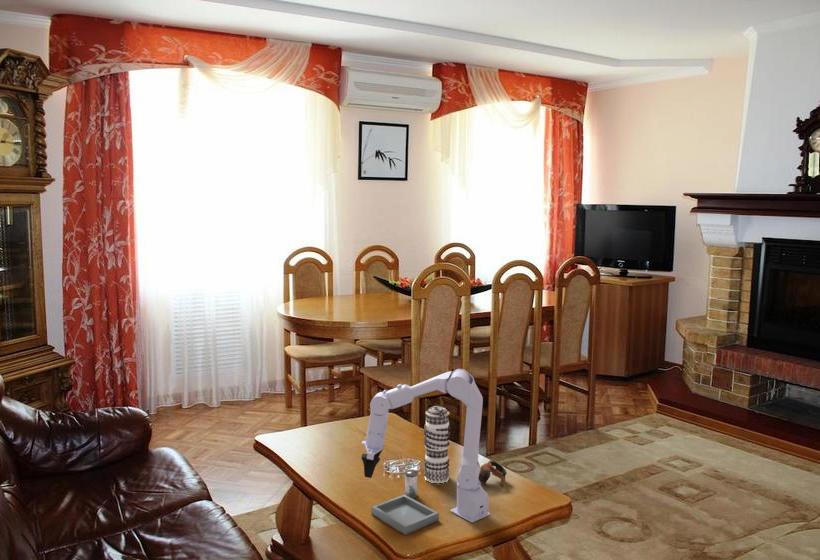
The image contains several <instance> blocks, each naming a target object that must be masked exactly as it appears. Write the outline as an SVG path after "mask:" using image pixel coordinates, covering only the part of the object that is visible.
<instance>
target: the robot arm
mask: <svg viewBox="0 0 820 560" xmlns="http://www.w3.org/2000/svg"><path fill="white" fill-rule="evenodd" d="M435 391H439V392H441V393H443V394H446V393H447V392H448V394H449V395H450V396H451V397H453V398H455V399H457V400H459V401H461V402H462V403H463V404H464V405H465V407H466V412H465V414H466V415H465V426H464V436H463V438H464V439H463V447H462V448H463V451H462V459H461V463H460V466H459V467H460V468H459V471H458V474H457V476H456V507H453V508H452V509H451V508H450V512H451V513H452V514H455V515H456V516H458V517H461V518H462V519H464V520H466V521H468V522H470V523H475V522H477V521H479V520H481V519H483V518H485V517H488V516H490V515H491V514H490V512H489V494H488V492H487V491H485V490H484V488H483V487H482V485H481V482H480V481H479V479H478V477H479V473H480V470H481V468H480V467H481V465H480V462H479V451H480V450H479V448H480V437H481V427H482V426H481V425H482V415H483V414H482V413H483V405H484V404H483V402H484V400H483V399H484V397H483V395H482V393H481V392H480V391H481V390H480V389H479V387H478V386H477V384H476V382H475V378H474V376H473V375H471V374H470V373H469V372H468V371H467V370H466V369H463V368H457V369H454V370H453V371H452V370H450V371H446V372H444V373H441V374H439V375H436V376H434V377H431V378H428V379H427V380H426V379H425V380H423V381H421V382H418V383H416V384H415V385H412V386H410V385H409V384H406V383H405V384H402V383H399V384H397V386H396V387H394V388H392V389H389V390H387V389H384V390H383V391H379V392H378V393H376V394H375V396H373V398H372V399H370V403H369V408H370V415H369V418H368V424H367V430H366V431H367V432H366V435H365V436H366V437H365V440H362V441H361V442H360V443H361V446H364V448H365V450H366V453H362V455H361V461H362V464H363V470H364V471H363V472H364V473H363V474H364V477H365V478H368V479H372V477H373V475H374V472H375V470H376V469H375V468H376V467H377V465H378V464H379V462H380V460H381V457H380V456H381V453H382V452H383V450H384V449H385V437H386V434H387V425H388V421H389V411H390V410H393V409H397V408H400V407H402V406H405V405H407V404H411V403H412V402H413V400H414V398H415V397H419V396H422V395H425V394H428V393H432V392H435Z"/></svg>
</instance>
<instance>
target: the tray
mask: <svg viewBox="0 0 820 560" xmlns="http://www.w3.org/2000/svg"><path fill="white" fill-rule="evenodd" d="M371 515H372V516H374V517H375V518H377V519H378V520H380V521H381V522H384V523H385V524H387V525H388V526H390V527H392V528H394V530H396V531H398V532H400V533H402V534H403V535H405V536H407V535H409V534H411V533H413V532H416V531H418V530H420V529H423V528H425V527H428V526H430V525H432V524H435V523H437V522H439V521H440V512H438V511H436V510H434V509H432V508H430V507H429V506H427V505H425V504H423V503H421V502H419V501H417V500H415V498H410V497H408V496H406V495H405V493H404V494H401V495H399V496H396V497H394V498H391V499H389V500H386V501H383V502H381V503H378V504H375V505H373V506H371Z"/></svg>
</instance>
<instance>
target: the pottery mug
mask: <svg viewBox="0 0 820 560" xmlns="http://www.w3.org/2000/svg"><path fill="white" fill-rule="evenodd" d="M480 468H481V470H480V473H479V477H478V479H479V481H480V482H481V486H486V485H487V482H488V480H490V478H491V475H492V476H495V477H496V478H499V479H500V480H501V481H500V483H499V486H500V487H503V486H504V484H505V482H506V475H507V474H508V472H507V470H506V469H505V468H504V467H503V466H502V465H501V464H499V463H498V462H496V461H494V460H488V462H487V463H484V464H482V465H480Z"/></svg>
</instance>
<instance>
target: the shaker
mask: <svg viewBox="0 0 820 560" xmlns="http://www.w3.org/2000/svg"><path fill="white" fill-rule="evenodd" d="M418 472H419V471H417V470H416V469H412V468H411V469H407V470H405V471H404V494H405V495H406V496H408V497H410V498H412V499H415V497H416V498H417V497H418Z"/></svg>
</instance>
